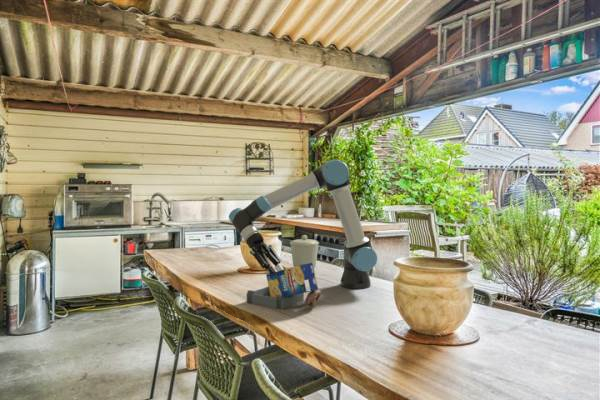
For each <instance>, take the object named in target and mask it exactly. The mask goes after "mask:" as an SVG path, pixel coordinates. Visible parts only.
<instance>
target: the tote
mask: <svg viewBox="0 0 600 400" xmlns="http://www.w3.org/2000/svg"><path fill="white" fill-rule="evenodd" d="M304 296H305V294H304V293H301V294H296V295H291V296H286V297H283V296H281V295H277V298H274V297H271V296H270V291H269V286H266V287H265V286H264V287H262V288H260V289H257V290H247V293H246V304H252V305H257V306H260V307H261V306H262V307H268V308H273V309H279V310H285V309H288V308H289V307H292V306H294V305H296V304H299V303H301V302H305V299H304V298H305V297H304Z"/></svg>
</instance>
